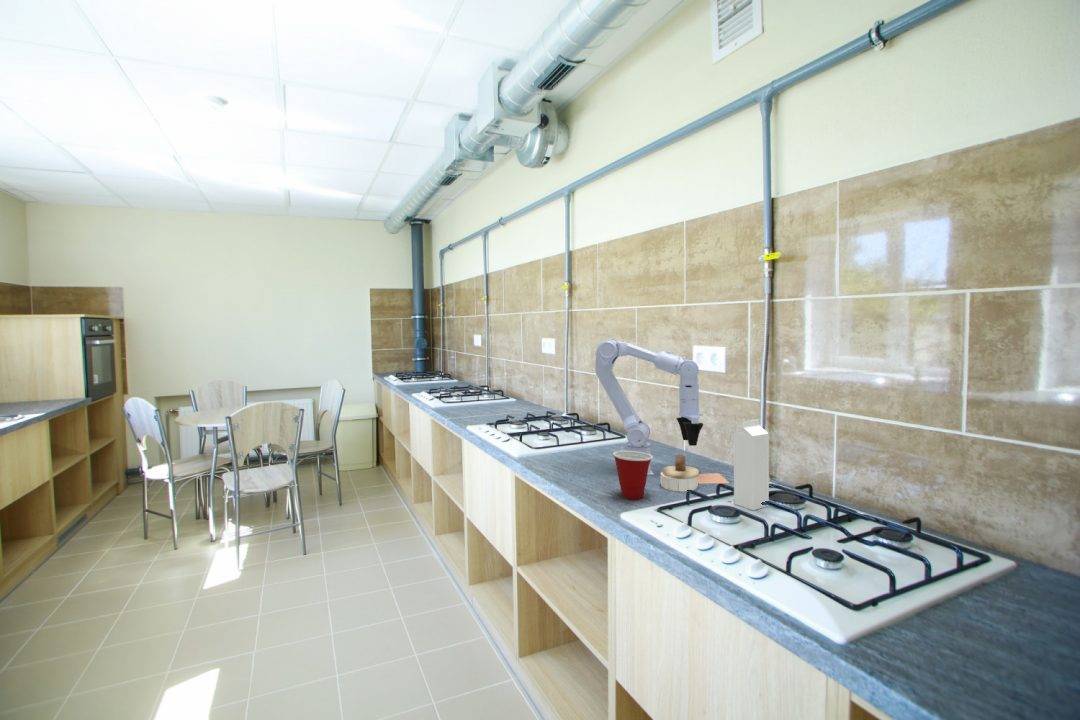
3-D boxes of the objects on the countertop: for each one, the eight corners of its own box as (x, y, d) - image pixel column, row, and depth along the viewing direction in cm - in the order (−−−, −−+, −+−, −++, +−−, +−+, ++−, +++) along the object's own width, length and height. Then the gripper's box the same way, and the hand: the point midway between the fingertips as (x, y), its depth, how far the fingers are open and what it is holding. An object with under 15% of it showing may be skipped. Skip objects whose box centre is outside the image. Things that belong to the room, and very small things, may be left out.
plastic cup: (660, 500, 137) (660, 456, 136) (623, 504, 134) (623, 459, 133) (642, 488, 147) (641, 447, 146) (607, 492, 144) (606, 450, 144)
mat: (694, 485, 149) (694, 483, 149) (686, 475, 159) (686, 473, 158) (729, 485, 148) (729, 483, 148) (719, 475, 158) (719, 473, 158)
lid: (667, 479, 141) (667, 461, 141) (658, 469, 151) (658, 452, 151) (703, 478, 142) (703, 460, 141) (692, 468, 152) (692, 451, 151)
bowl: (665, 493, 142) (664, 479, 142) (658, 482, 152) (658, 469, 152) (701, 493, 142) (701, 478, 141) (692, 482, 152) (692, 469, 151)
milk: (733, 504, 132) (732, 420, 131) (749, 499, 135) (748, 417, 134) (753, 510, 127) (752, 423, 126) (769, 506, 130) (768, 420, 129)
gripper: (708, 402, 150) (709, 447, 150) (696, 395, 164) (696, 437, 165) (684, 402, 150) (685, 448, 151) (673, 396, 165) (674, 437, 165)
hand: (689, 442), depth 158 cm, fingers open, 7 cm apart
